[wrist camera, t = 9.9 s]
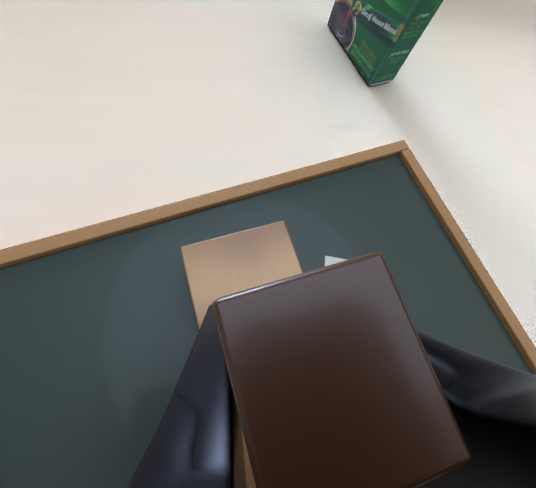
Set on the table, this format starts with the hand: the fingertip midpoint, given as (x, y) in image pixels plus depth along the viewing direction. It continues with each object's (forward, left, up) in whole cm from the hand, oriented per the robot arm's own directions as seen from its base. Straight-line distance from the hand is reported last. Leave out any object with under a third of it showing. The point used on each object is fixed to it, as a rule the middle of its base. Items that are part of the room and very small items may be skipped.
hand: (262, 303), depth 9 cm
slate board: (0, -2, -7) cm, 7 cm away
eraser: (-1, -1, -6) cm, 6 cm away
